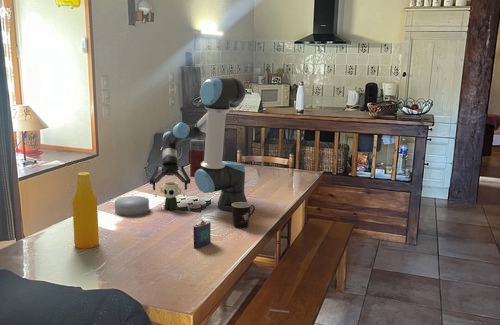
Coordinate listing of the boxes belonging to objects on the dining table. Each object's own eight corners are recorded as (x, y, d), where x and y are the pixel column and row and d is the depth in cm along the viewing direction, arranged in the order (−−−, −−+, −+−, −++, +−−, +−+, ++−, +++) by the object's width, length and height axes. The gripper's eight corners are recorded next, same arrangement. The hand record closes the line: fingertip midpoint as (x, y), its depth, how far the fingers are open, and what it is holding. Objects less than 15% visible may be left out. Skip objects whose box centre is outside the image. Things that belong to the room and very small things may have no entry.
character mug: (157, 209, 238) (157, 184, 235) (163, 205, 244) (163, 180, 242) (178, 212, 235) (178, 186, 232) (184, 207, 242) (184, 182, 239)
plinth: (153, 213, 232) (153, 203, 231) (119, 217, 225) (119, 207, 224) (143, 204, 246) (143, 194, 245) (111, 208, 238) (111, 198, 237)
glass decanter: (190, 173, 314) (190, 130, 308) (207, 174, 312) (207, 131, 306) (186, 176, 305) (186, 132, 299) (203, 177, 303) (204, 133, 297)
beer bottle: (103, 241, 195) (100, 171, 189) (90, 250, 186) (86, 177, 180) (83, 239, 198) (80, 169, 191) (69, 247, 189) (65, 175, 183)
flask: (207, 241, 199) (207, 216, 197) (212, 242, 197) (213, 217, 195) (191, 247, 192) (191, 222, 190) (197, 249, 190) (197, 223, 188)
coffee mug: (233, 230, 213) (234, 208, 211) (229, 223, 221) (229, 202, 219) (259, 228, 216) (259, 206, 214) (253, 221, 224) (254, 201, 222)
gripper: (194, 162, 254) (195, 198, 243) (145, 163, 250) (144, 199, 239) (194, 154, 248) (195, 191, 237) (144, 155, 244) (143, 192, 233)
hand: (170, 195), depth 238 cm, fingers open, 13 cm apart
